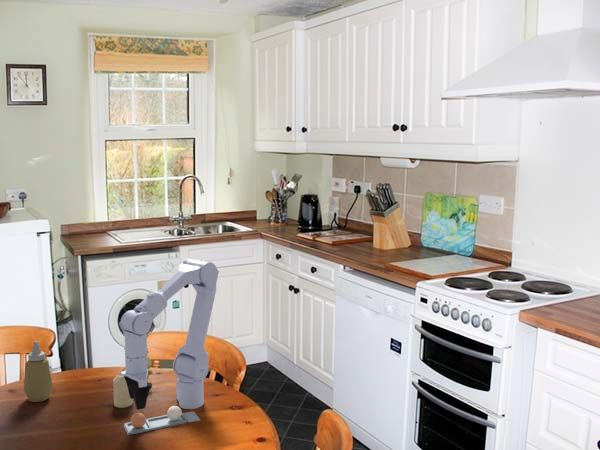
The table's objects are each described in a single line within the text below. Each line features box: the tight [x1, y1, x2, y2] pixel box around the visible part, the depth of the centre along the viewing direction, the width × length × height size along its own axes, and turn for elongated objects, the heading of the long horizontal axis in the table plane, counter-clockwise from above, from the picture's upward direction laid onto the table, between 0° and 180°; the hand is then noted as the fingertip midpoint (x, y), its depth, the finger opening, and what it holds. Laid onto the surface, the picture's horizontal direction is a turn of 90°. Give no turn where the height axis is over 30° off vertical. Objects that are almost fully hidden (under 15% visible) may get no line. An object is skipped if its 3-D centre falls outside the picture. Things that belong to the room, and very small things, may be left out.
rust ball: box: [130, 412, 147, 428], centre depth 169 cm, size 4×4×4 cm
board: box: [123, 410, 201, 436], centre depth 173 cm, size 6×20×2 cm, turn 117°
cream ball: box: [166, 405, 183, 421], centre depth 174 cm, size 4×4×4 cm
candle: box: [112, 373, 134, 409], centre depth 184 cm, size 6×6×10 cm
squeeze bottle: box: [23, 341, 53, 403], centre depth 188 cm, size 8×8×18 cm
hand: (137, 403), depth 168 cm, fingers open, 7 cm apart
